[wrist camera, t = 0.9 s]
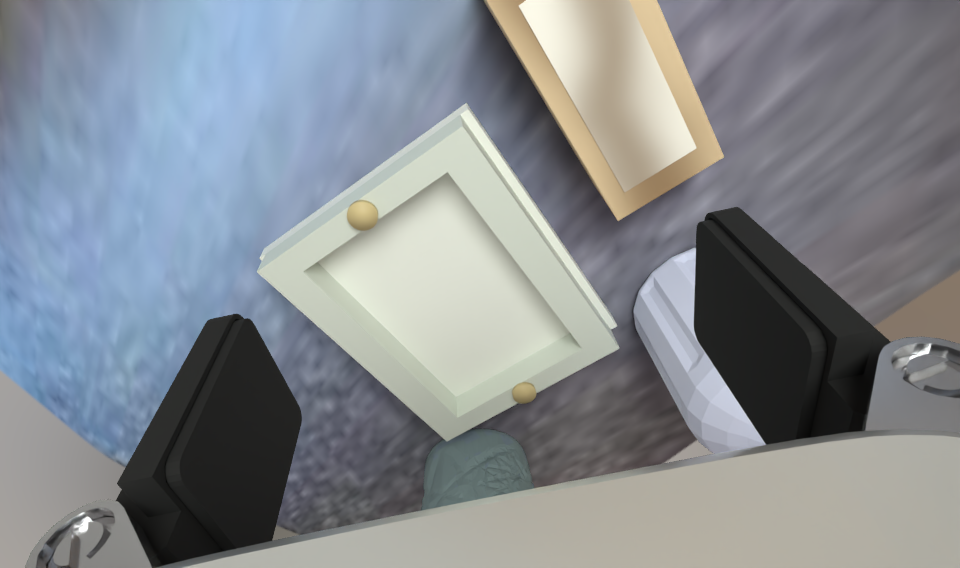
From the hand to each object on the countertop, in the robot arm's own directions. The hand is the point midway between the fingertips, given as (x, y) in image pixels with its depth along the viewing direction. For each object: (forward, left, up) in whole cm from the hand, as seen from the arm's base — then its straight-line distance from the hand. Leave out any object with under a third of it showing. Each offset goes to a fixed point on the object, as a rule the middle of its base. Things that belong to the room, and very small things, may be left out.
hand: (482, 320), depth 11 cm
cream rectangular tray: (+7, +10, -21) cm, 24 cm away
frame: (-7, +3, -21) cm, 22 cm away
